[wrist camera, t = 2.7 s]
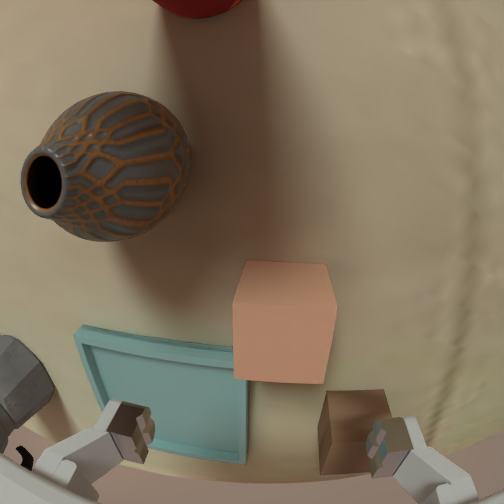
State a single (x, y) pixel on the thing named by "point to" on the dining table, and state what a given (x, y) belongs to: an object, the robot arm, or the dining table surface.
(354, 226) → the dining table surface
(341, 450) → the walnut block
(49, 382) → the coffeepot
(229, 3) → the paper cup
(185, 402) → the tray
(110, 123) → the vase
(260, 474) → the dining table surface
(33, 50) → the dining table surface
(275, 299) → the terracotta block
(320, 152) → the dining table surface
